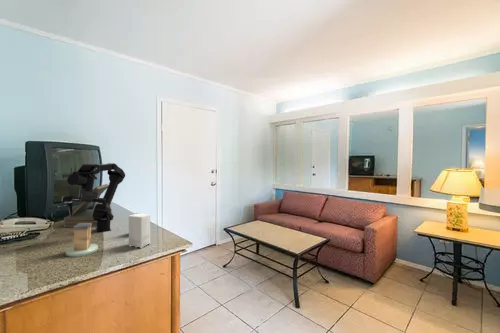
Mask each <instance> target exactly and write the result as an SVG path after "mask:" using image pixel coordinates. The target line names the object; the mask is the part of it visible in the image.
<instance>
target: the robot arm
mask: <svg viewBox="0 0 500 333" xmlns="http://www.w3.org/2000/svg"><path fill="white" fill-rule="evenodd" d="M105 171H107V175H108V180H109V183H108V188H107V189H106V190H105V191H104V195H103V197H98V198H97V196H98V192H93V190H94V186H95V185H94V184H95V180H98V178H97V176H96V175H97V174H100V173H101V172H105ZM125 177H126V172H124V170H123V168H121V167H119V166H118V165H117V164H116V163H113V162H112V163H111V162H110V163H109V162H108V163H101V164H97V163H83V164H81V166H80V167H79V169H78V170H77V171H72V173H71V174H70V175H68V177H67V179H66V180H67V184H68V185H70V186H75V187H77V186H78V187H79V191H78V197H73V196H70V195H69V196H67V195H64V196H62V197H61V202H63V203H64V204H65V205H66V206H67V208H68V212H69V214H70V216H71V217H72V211H73V204H74V202H93V203H94V204H93V209H92V210H93V212H92V217H93V218H94V221H97V223H96V226H95V231H96V232H98V233H103V232H109V231H112V229H111V222H112V221H113V220H114V215H113V212H112V213H111V209H112V207H111V204H112V202H113V199H114V196H115V193H116V192H117V189H118V186H119V184H121V183H123V181H124V179H125ZM93 198H94V199H93Z"/></svg>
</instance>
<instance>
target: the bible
mask: <svg viewBox="0 0 500 333" xmlns="http://www.w3.org/2000/svg"><path fill="white" fill-rule="evenodd" d="M108 185H109V183H106V184H102V185H98V186H95V187H94V188H93V192H98V196H97V198H100V196H101V195H102V194H103V193H105V192H106V190H107V188H108ZM93 199H94V198H93ZM93 203H94V202H82V201H80V202H79V204H78V205H77V206H76V207H75V208H74V209H72V217H71V216H70V213H69V214H68V215H67V216H65V217H63V228H74V226H75V225H77V224H79V223H92V226H91V227H96V223H97V221H94V218H93V217H92V212H93V209H89V207H90V206H92V204H93ZM112 210H113V209H112V208H111V213H112V214H113V211H112Z"/></svg>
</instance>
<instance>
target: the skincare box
mask: <svg viewBox="0 0 500 333" xmlns="http://www.w3.org/2000/svg"><path fill="white" fill-rule="evenodd" d="M136 213H137V214H136ZM136 213H134V214H131V215H128V246H129V245H131V246H136V247H135V248H137V247H143V246H145V245H147V244H149V243H150V244H151V214H149V213H147V214H146V213H141V214H140V212H136ZM150 244H149V245H150ZM131 246H130V247H131ZM147 246H148V245H147ZM145 247H146V246H145ZM143 248H144V247H143Z"/></svg>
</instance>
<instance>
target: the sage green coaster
mask: <svg viewBox="0 0 500 333" xmlns="http://www.w3.org/2000/svg"><path fill="white" fill-rule="evenodd" d="M98 250H99V245H98V244H96V243H91V246H90V247H89V248H88V249H87V250H79V251H74V245H73V246H70V247H69V248H66V250H65V256H66V257H70V258H78V257H84V256H89V255H93V254H94V253H96V252H97V251H98Z"/></svg>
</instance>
